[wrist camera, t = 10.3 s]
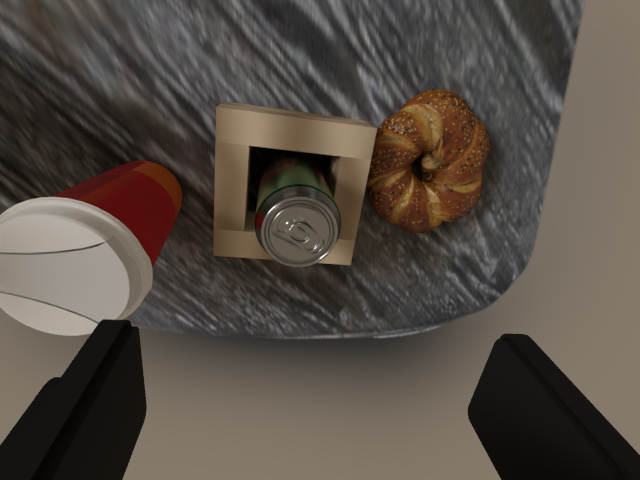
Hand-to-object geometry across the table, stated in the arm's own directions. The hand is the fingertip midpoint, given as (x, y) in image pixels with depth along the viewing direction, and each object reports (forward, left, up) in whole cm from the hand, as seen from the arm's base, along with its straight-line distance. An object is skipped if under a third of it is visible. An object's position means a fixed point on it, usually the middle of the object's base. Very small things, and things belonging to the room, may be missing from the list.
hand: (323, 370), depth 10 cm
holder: (0, +1, -23) cm, 23 cm away
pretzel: (-11, -1, -24) cm, 26 cm away
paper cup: (+11, +4, -24) cm, 26 cm away
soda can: (0, +1, -24) cm, 24 cm away
